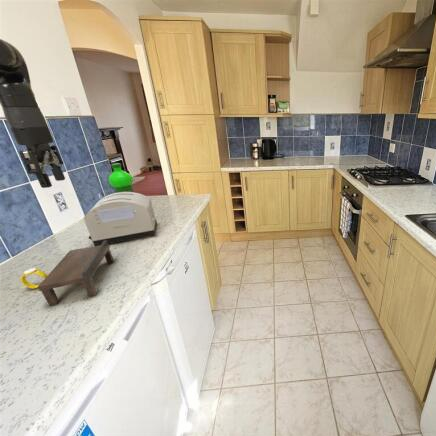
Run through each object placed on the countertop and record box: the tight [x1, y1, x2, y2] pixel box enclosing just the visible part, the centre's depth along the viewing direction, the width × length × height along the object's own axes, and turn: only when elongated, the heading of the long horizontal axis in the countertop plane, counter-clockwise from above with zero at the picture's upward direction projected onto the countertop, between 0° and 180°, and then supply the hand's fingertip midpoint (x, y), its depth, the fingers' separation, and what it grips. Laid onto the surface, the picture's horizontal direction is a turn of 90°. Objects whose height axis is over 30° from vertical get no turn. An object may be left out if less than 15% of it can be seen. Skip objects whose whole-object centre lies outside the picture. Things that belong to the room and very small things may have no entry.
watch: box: [20, 267, 48, 290], centre depth 73 cm, size 6×3×6 cm, turn 103°
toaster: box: [83, 192, 158, 246], centre depth 105 cm, size 23×25×17 cm
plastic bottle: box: [108, 162, 135, 193], centre depth 130 cm, size 10×10×25 cm
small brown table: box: [37, 240, 115, 307], centre depth 75 cm, size 11×20×8 cm, turn 21°
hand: (54, 183), depth 72 cm, fingers open, 8 cm apart
